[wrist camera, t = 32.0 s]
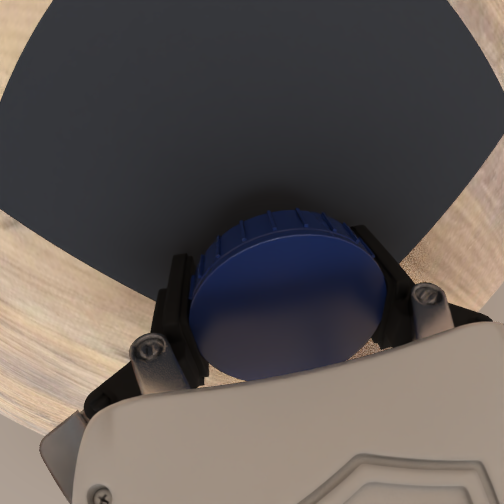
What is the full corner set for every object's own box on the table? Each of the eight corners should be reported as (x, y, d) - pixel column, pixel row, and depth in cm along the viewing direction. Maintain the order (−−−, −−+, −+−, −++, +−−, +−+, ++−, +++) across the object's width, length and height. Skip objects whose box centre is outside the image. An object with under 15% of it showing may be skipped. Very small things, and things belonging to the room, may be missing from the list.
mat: (510, 115, 11) (515, 116, 10) (290, 356, 18) (292, 361, 17) (228, -145, 3) (228, -149, 2) (-21, 187, 10) (-26, 190, 9)
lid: (398, 276, 11) (418, 303, 9) (284, 370, 13) (290, 399, 11) (280, 163, 8) (293, 181, 7) (155, 306, 10) (148, 340, 9)
